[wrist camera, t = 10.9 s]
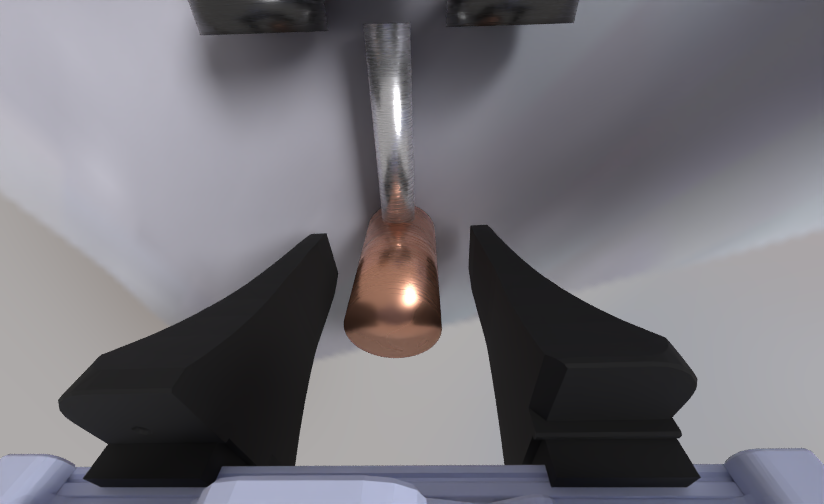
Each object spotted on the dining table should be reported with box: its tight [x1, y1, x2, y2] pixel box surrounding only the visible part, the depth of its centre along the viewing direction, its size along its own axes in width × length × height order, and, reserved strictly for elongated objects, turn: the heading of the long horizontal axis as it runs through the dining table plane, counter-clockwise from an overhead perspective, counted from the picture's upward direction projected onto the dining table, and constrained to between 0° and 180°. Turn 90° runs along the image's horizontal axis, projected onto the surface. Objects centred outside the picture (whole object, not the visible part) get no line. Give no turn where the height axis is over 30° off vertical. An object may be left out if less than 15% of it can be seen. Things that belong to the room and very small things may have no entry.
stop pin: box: [344, 23, 442, 358], centre depth 9 cm, size 3×8×5 cm, turn 1°
